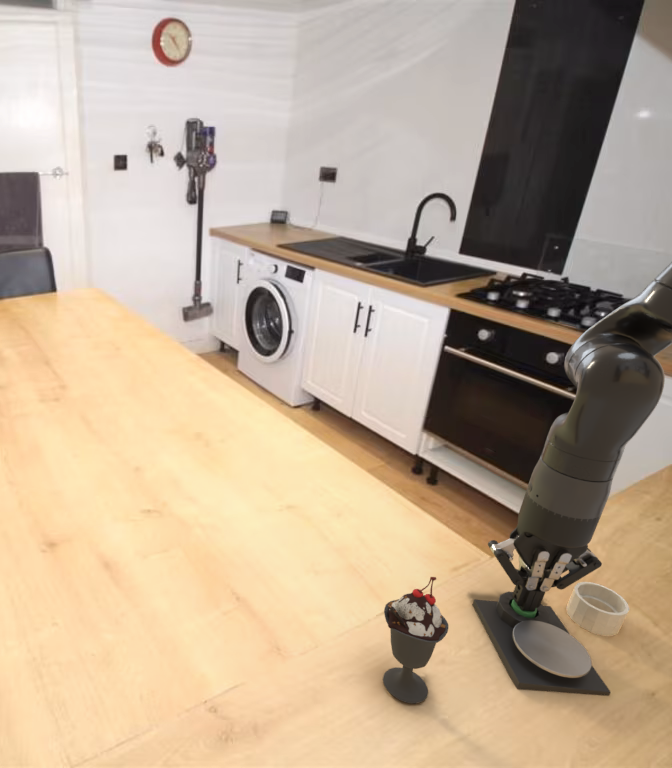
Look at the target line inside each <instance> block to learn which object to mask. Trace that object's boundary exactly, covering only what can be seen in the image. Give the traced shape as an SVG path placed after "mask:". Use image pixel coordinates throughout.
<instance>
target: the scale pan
mask: <svg viewBox="0 0 672 768" xmlns="http://www.w3.org/2000/svg"><path fill="white" fill-rule="evenodd" d="M512 636H513V640H514V643H515V645H516V646H517V648H518V649H519V651H520V652H521V653H522V654H523V655H524V656H525V657H526V658H527V659H528V660H530V661H531V662H532V663H534V664H535V665H537V666H538V667H540V668H542V669H544V670H546V671H548V672H550V673H552V674H555V675H558V676H562V677H568V678H578V677H582V676H585V675H586V674H588V672H589V671H590V669H591V665H592V664H593V663H592V658H591V655H590V653H589V652H588V650H587V649H586V648H585V646H584V645H583V644H582V643H581V642H580V641H579V640H578V639H577V638H575V637H574V636H573V635H572V634H570V633H569V634H568V633H567V632H565V631H564V630H562V629H560V628H558V627H556V626H553V625H551V624H548V623H544V622H540V621H532V620H529V621H522V622H520V623H518V624H517V625H516V626H515V627H514V629H513V634H512ZM592 666H593V665H592Z"/></svg>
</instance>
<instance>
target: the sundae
mask: <svg viewBox="0 0 672 768" xmlns="http://www.w3.org/2000/svg"><path fill="white" fill-rule="evenodd" d="M436 580H437V577H436V576H430V578H429V581H428V584H427V585H426V586H424V587H423V588H422V589H420V588H414V589H413V590H412V592H409V593H405V594H403V595H402V596H401V597H399V599H393V600H390V601H388V602H387V603H386V604H385V606H384V610H383V614H384V619H385V622H386V624H387V627H388V628H389V629H390V645H391V646H390V647H391V653H392V655H393V657H394V658H395V660H396V661H397V662H398V663H399V664H401V665H402V667H391V668H388V669H387V670H386V671H385V672H384V673H383V676H382V682H383V685H384V688H385V689H386V691H388V693H389V694H390V695H391V696H392V697H394V699H395V698H396V699H397V700H399V701H401V702H404V703H406V704H419V703H422V702H424V701H425V700H426V699H427V698H428V695H429V689H428V685H427V684H426V682H425V680H424V679H423V678H422V677H421V676H420V675H419V674H417V673H415V672H414V670H418V669H422V668H425V667H426V666H427V665H428V663H429V662H430V659H431V658H432V656H433V653H434V650H435V648H436V645H437V643H440V642H441V641H443V639H444V638H446V635H447V634H448V632H449V622H448V621H447V619H446V618H445V617H444V616H443V614H442V613H441V611H440V608H439V607H438V605H436V602H437V599H436V597H435V596H434V595H433V587H434V586H433V585H434V581H436ZM430 584H431V585H430ZM429 586H430V591H429V593H425V594H424V592H423V591H424V590H426V589H427V588H428V587H429Z"/></svg>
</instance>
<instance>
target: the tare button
mask: <svg viewBox="0 0 672 768" xmlns="http://www.w3.org/2000/svg"><path fill="white" fill-rule="evenodd" d="M510 607H511V608H512V609H513V610H514V611H515V612H516V613H518V614H519V615H522V616H524V617H527V618H535V615H536V612H537V608H536V609H535V611H534V612H533V611H522V610H521V609H520V608H519V606H518V605H517V604H516V602H515V601H514V599H513V601H512V604H511V606H510Z"/></svg>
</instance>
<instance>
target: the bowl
mask: <svg viewBox="0 0 672 768" xmlns="http://www.w3.org/2000/svg"><path fill="white" fill-rule="evenodd" d="M565 609H566V614H567V615H568V617H569V619H571V621H572V622H574V623H575V624H576V625H577V626H578V627H580V628H581V629H584V630H585V631H587V632H589V633H591V634H594V635H598V636H603V637H612V636H613V637H614V636H615V635H618V634H619V632H620V631H621V628H623V627H622V626H623V624H624V623H625V621H626V618H627V617H628V614H629V612H630V610H631V609H630V606H629V603H628V602H627V600H626V599H624V597H623V596H622V595H621V594H619V593H617V591H615V590H614V589H611V588H609V587H608V586H605V585H602V584H599V583H596V582H592V581H581V582H576V584H575V585H574V586H573V590H572V591H571V594H570V597H569V599H568V602H567V604H566V608H565Z"/></svg>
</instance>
